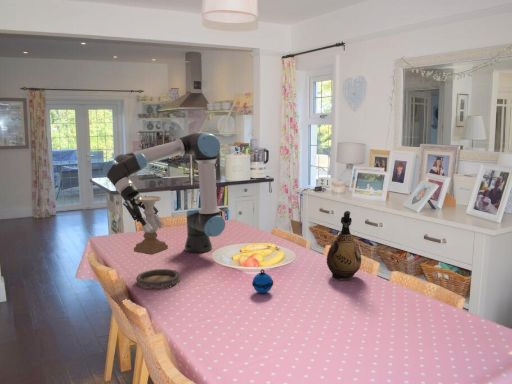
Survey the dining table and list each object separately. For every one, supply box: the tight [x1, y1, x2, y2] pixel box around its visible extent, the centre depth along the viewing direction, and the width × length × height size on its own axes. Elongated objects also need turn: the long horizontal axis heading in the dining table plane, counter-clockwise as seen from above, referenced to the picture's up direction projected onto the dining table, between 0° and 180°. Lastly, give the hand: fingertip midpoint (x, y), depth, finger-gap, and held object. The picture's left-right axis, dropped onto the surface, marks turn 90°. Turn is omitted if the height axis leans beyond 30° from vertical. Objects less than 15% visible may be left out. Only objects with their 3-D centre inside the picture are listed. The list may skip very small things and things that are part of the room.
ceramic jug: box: [326, 210, 362, 281], centre depth 211 cm, size 17×15×30 cm
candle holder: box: [133, 195, 169, 256], centre depth 209 cm, size 11×11×24 cm
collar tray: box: [136, 268, 181, 290], centre depth 210 cm, size 19×19×3 cm
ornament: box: [251, 269, 274, 294], centre depth 195 cm, size 9×9×10 cm
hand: (156, 228), depth 207 cm, fingers closed on candle holder, 7 cm apart
